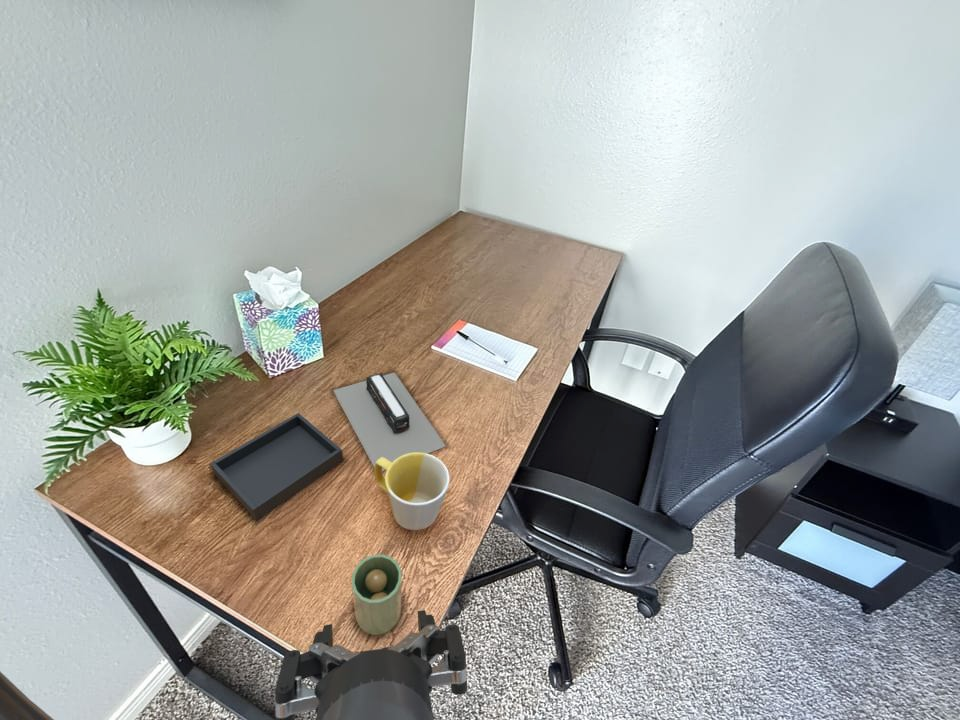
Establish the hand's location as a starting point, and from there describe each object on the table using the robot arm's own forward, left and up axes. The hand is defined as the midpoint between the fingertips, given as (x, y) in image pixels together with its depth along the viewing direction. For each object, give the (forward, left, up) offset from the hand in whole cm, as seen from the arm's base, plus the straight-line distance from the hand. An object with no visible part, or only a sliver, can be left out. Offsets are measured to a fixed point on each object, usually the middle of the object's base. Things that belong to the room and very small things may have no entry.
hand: (375, 627), depth 44 cm
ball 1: (+8, +10, -17) cm, 22 cm away
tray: (+13, +41, -24) cm, 49 cm away
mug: (+23, +18, -24) cm, 38 cm away
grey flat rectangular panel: (+35, +37, -24) cm, 56 cm away
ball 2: (+7, +8, -19) cm, 21 cm away
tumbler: (+8, +9, -24) cm, 27 cm away
